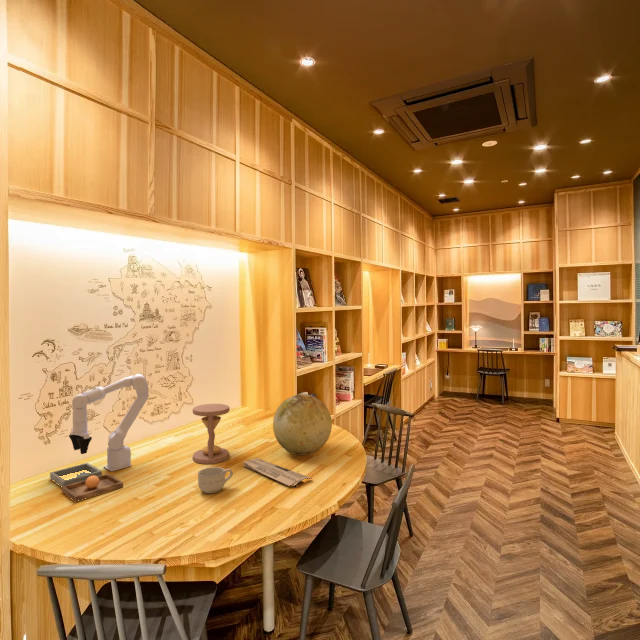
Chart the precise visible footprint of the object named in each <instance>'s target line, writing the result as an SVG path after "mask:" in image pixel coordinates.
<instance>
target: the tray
mask: <svg viewBox="0 0 640 640" xmlns="http://www.w3.org/2000/svg"><path fill="white" fill-rule="evenodd" d="M97 477H98V478H99V484H98V486H97V487H95V488H93V489H89V488H87V487H86V485H85V482H86V480H84V481H80V482H77V483H73V484H70V485H67V486H63V487H62V488H61V493H62V492H63V493H65V494H66V495H67V496H69V497H70V498H72V499H73V500H74V501H78V500H82V499H85V498H88V499H90V498H89V497H91V498H93V497H92V496H94V497H96V496H95V495H97V496H99V495H98V494H100V495H102V493H104V494H106V493H105V492H107V493H109V492H108V491H110V492H112V491H111V490H113V491H115V489H116V490H118V488H119V489H122V488H124V482H123V481H122V480H120V479H119V478H117V477H115V476H113V475H111V474H110V473H104V474H102V475H101V476H97ZM121 487H122V488H121ZM63 493H62V494H63ZM65 494H64V495H65ZM66 495H65V496H66ZM67 496H66V497H67ZM69 497H68V498H69ZM70 498H69V499H70ZM73 500H72V501H73ZM85 500H86V499H85ZM74 501H73V502H74ZM82 501H83V500H82Z"/></svg>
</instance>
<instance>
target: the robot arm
mask: <svg viewBox="0 0 640 640" xmlns="http://www.w3.org/2000/svg"><path fill="white" fill-rule="evenodd" d="M123 388H129V389H131V388H133V389H134V391H135V393H136V397H135V399H134V401H132V404H131V405H130V407H129V408H128V410H127V412H126V414H125V415H124V416H123V418H122V420H121V421H120V423H119V425H117V427H116V428H115V430H113V431H112V432H111V433H110V434H109V435H108V442H107V449H106V450H107V451H106V453H107V459H106V464H107V465H104V466H103V468H104V467H105V468H104V469H106V470H108V471H109V470H110V472H115V471H118V470H121V469H125V468H129V467H131V466H132V465H133V464H132V461H131V460H132V457H131V456H132V454H131V453H132V452H131V448H130V446H129V445H124V443H125V442H124V440H125V438H126V437H127V434H128V432H129V429H131V427H132V425H133V423H134V421H135V420H136V418H137V417H138V415H139V413H140V412H141V411H142V409H143V407H144V405H145V404H146V403H147V400H148V399H149V397H150V395H149V394H150V393H149V383H148V381H147V379H146V377H145V375H144V374H142V373H136V374H134V375H128V376H126V377H124V378H121V379H119V380H117V381H114V382H112V383H110V384H108V385H106V386H93V388H91V389H90V390H87V391H82V392H81V393H79V394H76V395H75V396H73V398H72V400H71V401H72V402H71V405H72V428H71V432H69V435H68V437H69V439H70V441H71V443H72V447H73V450H74V451H78V450H79V452H80V454H81V455H84V454H87V453H88V449H89V445H90V443H91V441H92V439H93V437H92V436H90V433H89V429H88V410H87V409H88V407H87V406H88V405H89V404H90V405H91V404H92V403H95V402H98V401H99V400H103V399H105V397H106V395H107V394H109V393H112V392H115V391H117V390H119V389H123Z"/></svg>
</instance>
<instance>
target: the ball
mask: <svg viewBox="0 0 640 640" xmlns="http://www.w3.org/2000/svg"><path fill="white" fill-rule="evenodd" d="M98 484H99V478H98V477H97V476H90V477H88V478H87V480H86V482H85V485H86V487H87V488H89V489H93V488H95V487H97V486H98Z"/></svg>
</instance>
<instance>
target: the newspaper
mask: <svg viewBox="0 0 640 640" xmlns="http://www.w3.org/2000/svg"><path fill="white" fill-rule="evenodd" d="M241 462H242V463H243V466H242V467H245V468H247V469H249V470H252V471H255V472H257V473H259V474H262V475H263V476H266V477H268V478H271V479H273V480H276V481H278V482H280V483H282V484H284V485H287V486H290V485H293V486H295V485H296V486H297V484H298V483H299V482H301V481H302V480H304V479H308V478H309V479H310V478H311V479H312V480H313V478H312V477H310V476H308V475H304V474H301V473H299V472H297V471H294V470H291V469H288V468H285V467H283V466H280V465H277V464H275V463H272V462H269V461H266V460H263V459H260V458H258V457H257V458H251V459H248V460H244V461H242V460H241ZM293 486H292V487H293ZM290 487H291V486H290Z"/></svg>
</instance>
